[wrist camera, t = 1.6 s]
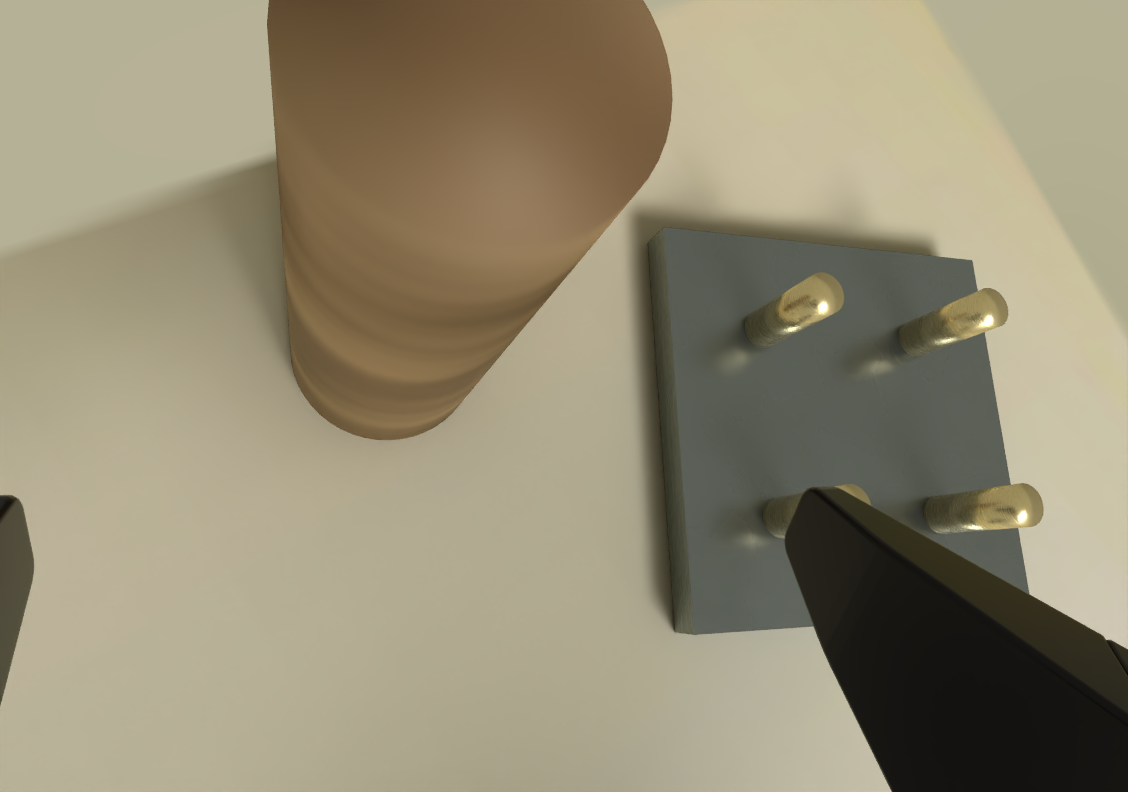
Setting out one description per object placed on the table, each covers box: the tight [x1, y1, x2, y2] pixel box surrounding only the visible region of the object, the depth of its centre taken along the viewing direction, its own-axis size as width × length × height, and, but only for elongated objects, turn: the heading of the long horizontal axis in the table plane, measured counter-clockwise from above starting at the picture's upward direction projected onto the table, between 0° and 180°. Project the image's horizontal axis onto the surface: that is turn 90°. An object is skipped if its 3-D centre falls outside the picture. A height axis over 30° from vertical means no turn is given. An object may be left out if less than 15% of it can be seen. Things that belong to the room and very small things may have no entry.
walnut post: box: [267, 0, 672, 440], centre depth 15 cm, size 5×5×13 cm
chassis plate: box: [648, 227, 1043, 635], centre depth 23 cm, size 12×12×4 cm
